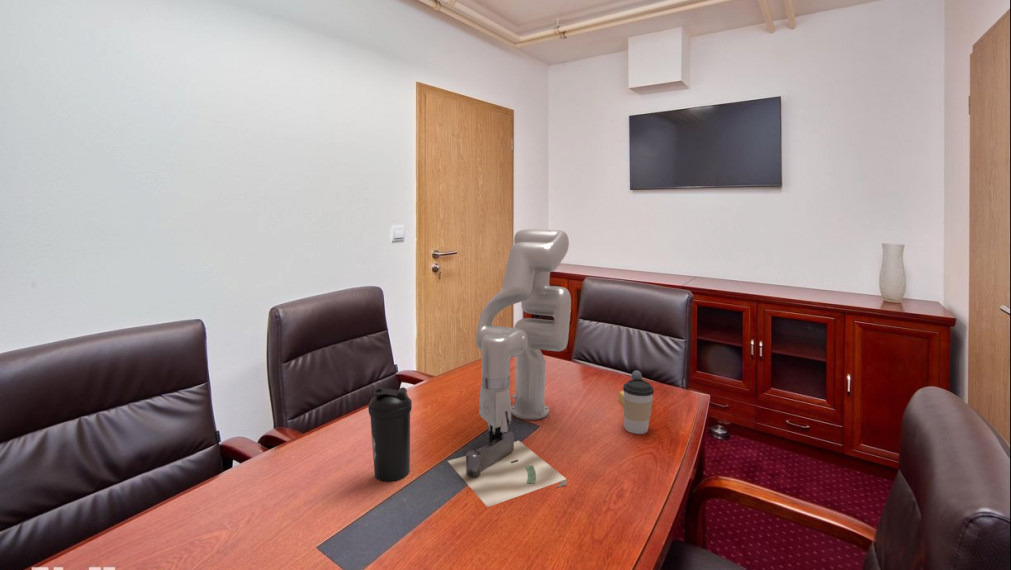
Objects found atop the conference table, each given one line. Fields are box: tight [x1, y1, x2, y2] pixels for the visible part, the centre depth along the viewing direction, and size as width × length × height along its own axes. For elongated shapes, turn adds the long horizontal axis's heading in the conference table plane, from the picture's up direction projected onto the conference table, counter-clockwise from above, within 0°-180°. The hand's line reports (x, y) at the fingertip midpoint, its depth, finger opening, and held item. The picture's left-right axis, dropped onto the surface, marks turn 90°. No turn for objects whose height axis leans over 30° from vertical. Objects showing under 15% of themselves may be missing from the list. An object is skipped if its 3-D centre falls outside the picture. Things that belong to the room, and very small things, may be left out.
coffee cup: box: [622, 378, 655, 435], centre depth 144 cm, size 9×9×15 cm
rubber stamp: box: [618, 370, 653, 407], centre depth 163 cm, size 10×6×12 cm, turn 100°
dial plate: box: [447, 440, 568, 508], centre depth 119 cm, size 22×22×2 cm
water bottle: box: [367, 386, 413, 483], centre depth 116 cm, size 10×10×23 cm
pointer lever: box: [465, 430, 515, 477], centre depth 121 cm, size 17×4×5 cm, turn 140°
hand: (495, 444), depth 128 cm, fingers closed
